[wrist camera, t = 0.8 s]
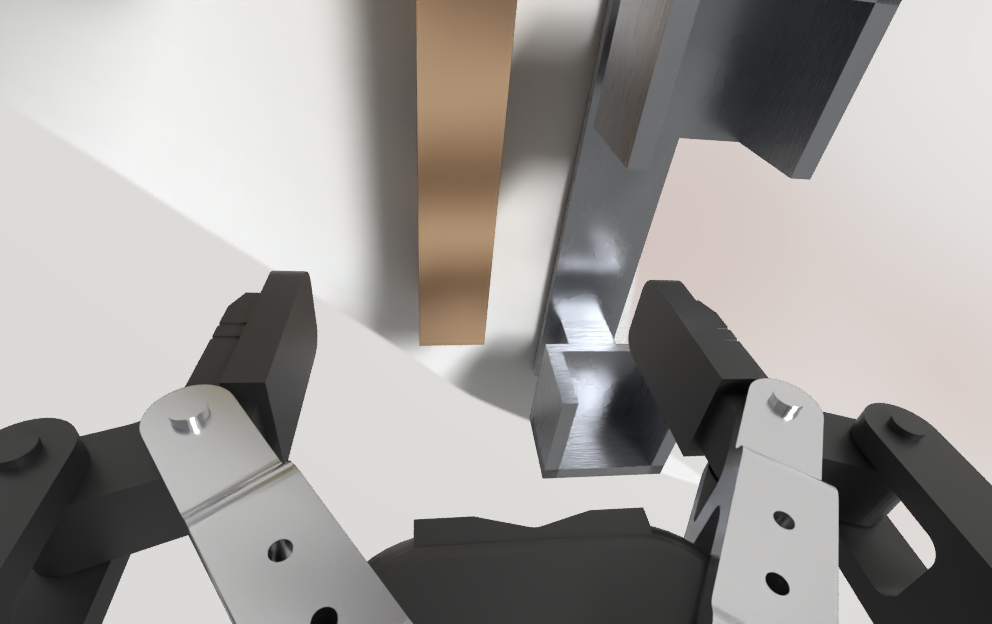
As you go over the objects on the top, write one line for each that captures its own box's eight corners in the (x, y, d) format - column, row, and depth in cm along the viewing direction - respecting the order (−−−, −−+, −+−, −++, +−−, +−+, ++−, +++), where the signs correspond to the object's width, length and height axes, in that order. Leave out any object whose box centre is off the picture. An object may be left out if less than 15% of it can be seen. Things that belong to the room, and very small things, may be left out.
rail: (415, -147, 18) (414, -164, 15) (508, -135, 19) (531, -148, 15) (419, 291, 31) (419, 345, 27) (475, 291, 31) (483, 344, 27)
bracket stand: (598, -72, 20) (691, -66, 13) (756, -51, 21) (919, -35, 14) (518, 369, 35) (542, 480, 28) (613, 368, 37) (658, 475, 30)
